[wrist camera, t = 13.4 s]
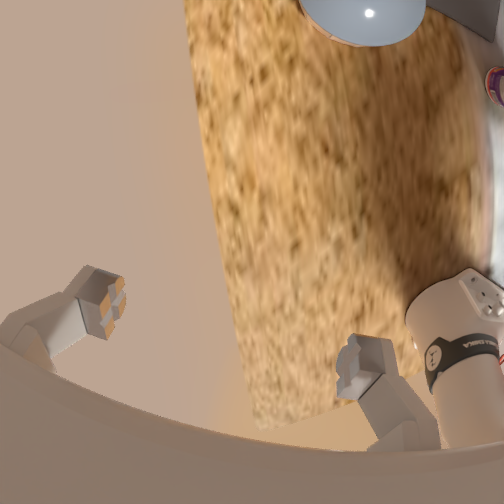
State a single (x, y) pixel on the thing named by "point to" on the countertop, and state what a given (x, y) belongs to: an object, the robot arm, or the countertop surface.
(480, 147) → the countertop surface
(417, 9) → the lid
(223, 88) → the countertop surface
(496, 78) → the pill bottle
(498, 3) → the mat
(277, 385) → the countertop surface
